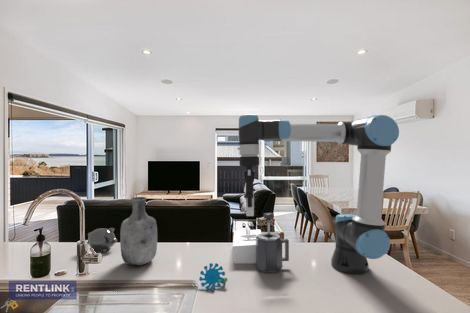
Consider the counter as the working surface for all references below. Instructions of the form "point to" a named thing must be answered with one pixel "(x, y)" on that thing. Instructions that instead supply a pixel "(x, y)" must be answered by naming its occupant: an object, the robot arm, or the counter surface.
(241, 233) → the tissue box
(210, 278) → the gear
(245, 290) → the counter surface
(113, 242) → the piggy bank
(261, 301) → the counter surface
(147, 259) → the vase
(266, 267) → the carafe
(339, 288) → the counter surface
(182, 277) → the counter surface
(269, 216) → the plunger
